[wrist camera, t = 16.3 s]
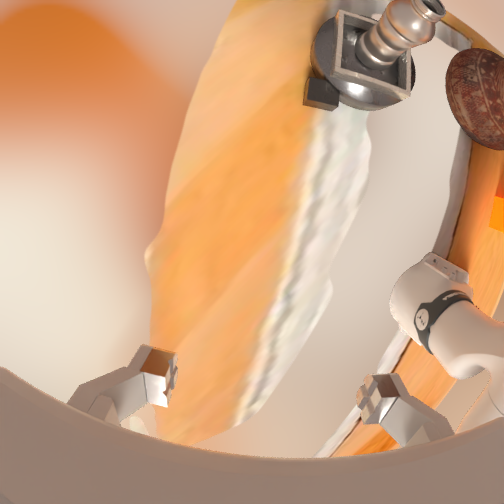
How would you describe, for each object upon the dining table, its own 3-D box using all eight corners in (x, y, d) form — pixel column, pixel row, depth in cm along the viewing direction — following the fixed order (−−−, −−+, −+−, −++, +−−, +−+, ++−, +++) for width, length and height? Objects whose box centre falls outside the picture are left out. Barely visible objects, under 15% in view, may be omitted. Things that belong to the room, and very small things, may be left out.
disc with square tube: (402, 44, 34) (421, 30, 26) (399, 131, 40) (422, 127, 32) (313, 15, 33) (321, -6, 26) (302, 104, 39) (311, 92, 32)
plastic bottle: (374, 37, 30) (432, -19, 11) (393, 70, 32) (465, 28, 13) (343, 43, 31) (393, -22, 12) (363, 77, 33) (430, 28, 14)
